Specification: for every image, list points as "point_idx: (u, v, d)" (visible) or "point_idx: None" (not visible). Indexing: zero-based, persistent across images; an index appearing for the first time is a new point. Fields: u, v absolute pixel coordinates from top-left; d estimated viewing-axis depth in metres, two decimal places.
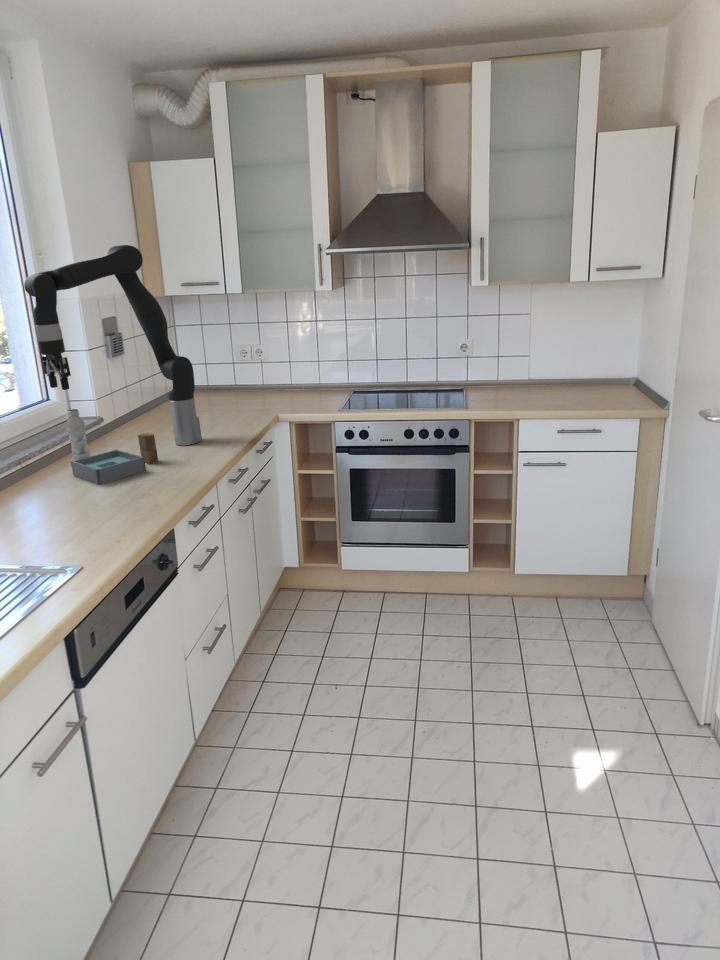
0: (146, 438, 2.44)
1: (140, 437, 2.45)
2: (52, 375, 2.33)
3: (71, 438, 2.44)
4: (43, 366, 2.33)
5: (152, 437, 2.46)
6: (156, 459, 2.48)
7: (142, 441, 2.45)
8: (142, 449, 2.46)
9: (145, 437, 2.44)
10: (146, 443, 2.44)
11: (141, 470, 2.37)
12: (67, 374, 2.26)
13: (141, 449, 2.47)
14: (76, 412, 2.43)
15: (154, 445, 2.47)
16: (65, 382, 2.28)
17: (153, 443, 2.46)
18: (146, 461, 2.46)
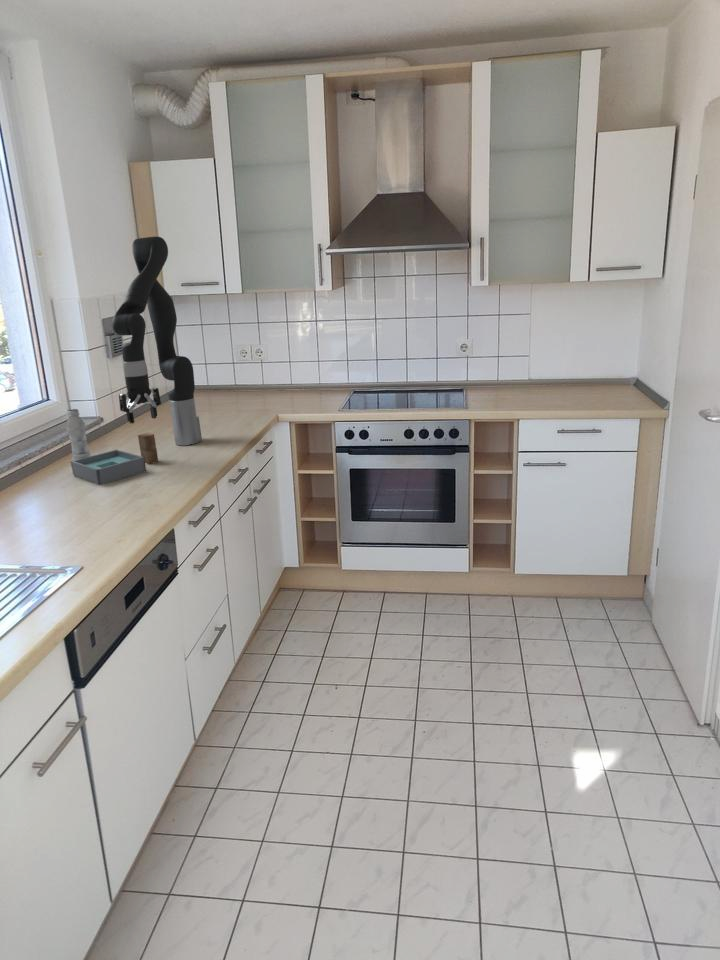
0: (146, 438, 2.44)
1: (140, 437, 2.45)
2: None
3: (71, 438, 2.44)
4: (124, 404, 2.37)
5: (152, 437, 2.46)
6: (156, 459, 2.48)
7: (142, 441, 2.45)
8: (142, 449, 2.46)
9: (145, 437, 2.44)
10: (146, 443, 2.44)
11: (141, 470, 2.37)
12: None
13: (141, 449, 2.47)
14: (76, 412, 2.43)
15: (154, 445, 2.47)
16: None
17: (153, 443, 2.46)
18: (146, 461, 2.46)
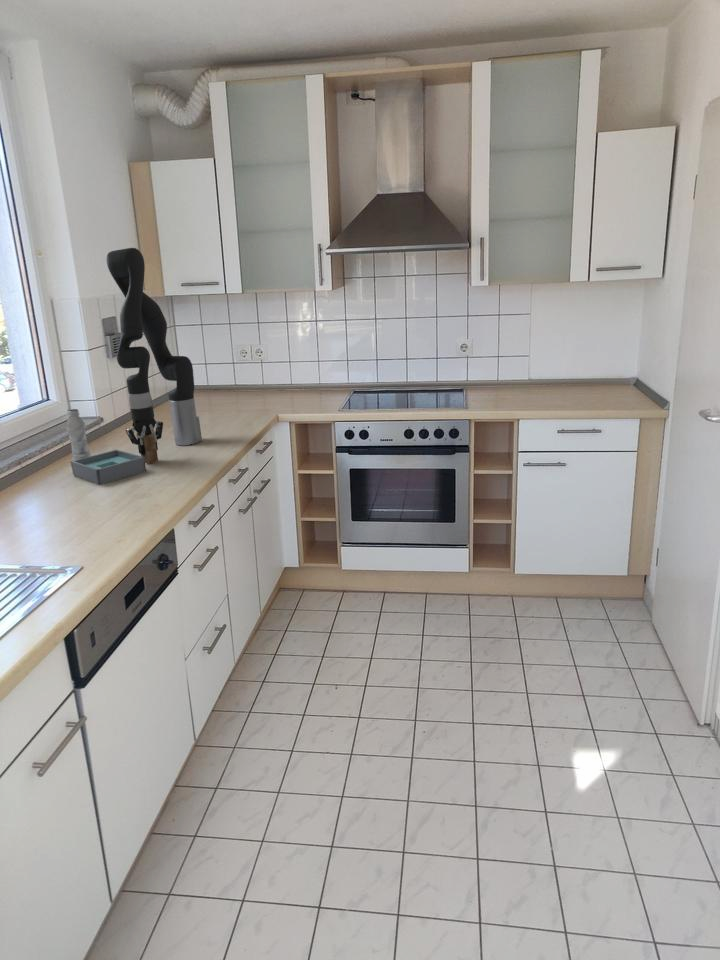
0: (146, 438, 2.44)
1: None
2: None
3: (71, 438, 2.44)
4: (134, 438, 2.41)
5: (152, 437, 2.46)
6: (156, 459, 2.48)
7: None
8: None
9: (145, 437, 2.44)
10: (147, 443, 2.44)
11: (141, 470, 2.37)
12: None
13: None
14: (76, 412, 2.43)
15: (154, 445, 2.47)
16: None
17: (153, 443, 2.46)
18: (146, 461, 2.47)
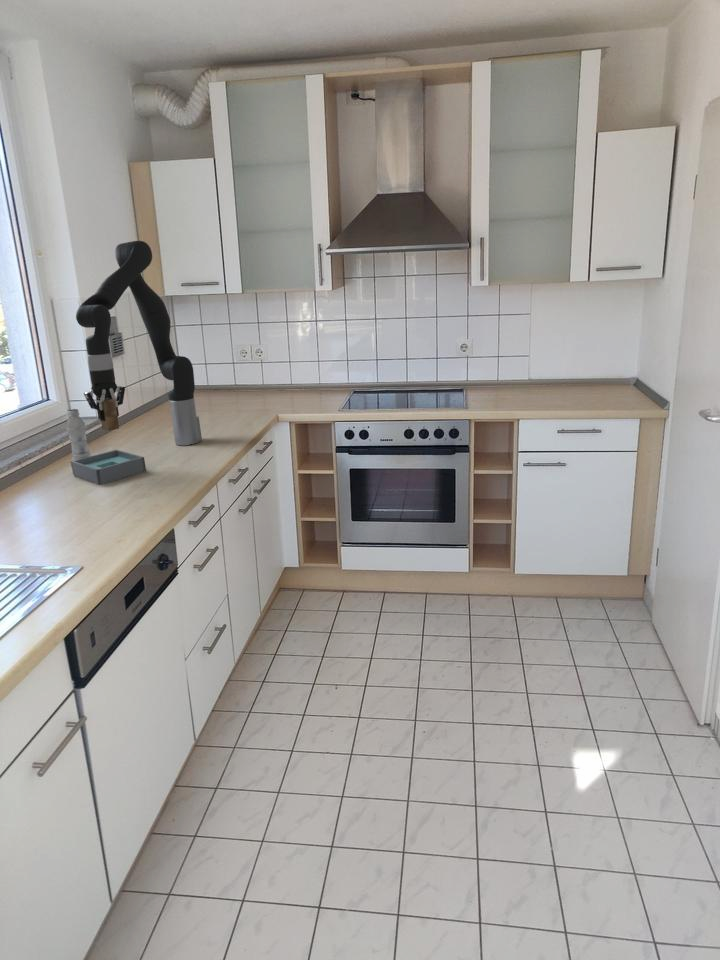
0: (106, 402, 2.31)
1: None
2: None
3: (71, 438, 2.44)
4: (92, 402, 2.28)
5: (113, 402, 2.32)
6: (117, 426, 2.35)
7: None
8: None
9: (105, 401, 2.30)
10: (106, 408, 2.31)
11: (141, 470, 2.37)
12: None
13: None
14: (76, 412, 2.43)
15: (115, 411, 2.34)
16: None
17: (114, 408, 2.33)
18: (106, 427, 2.33)
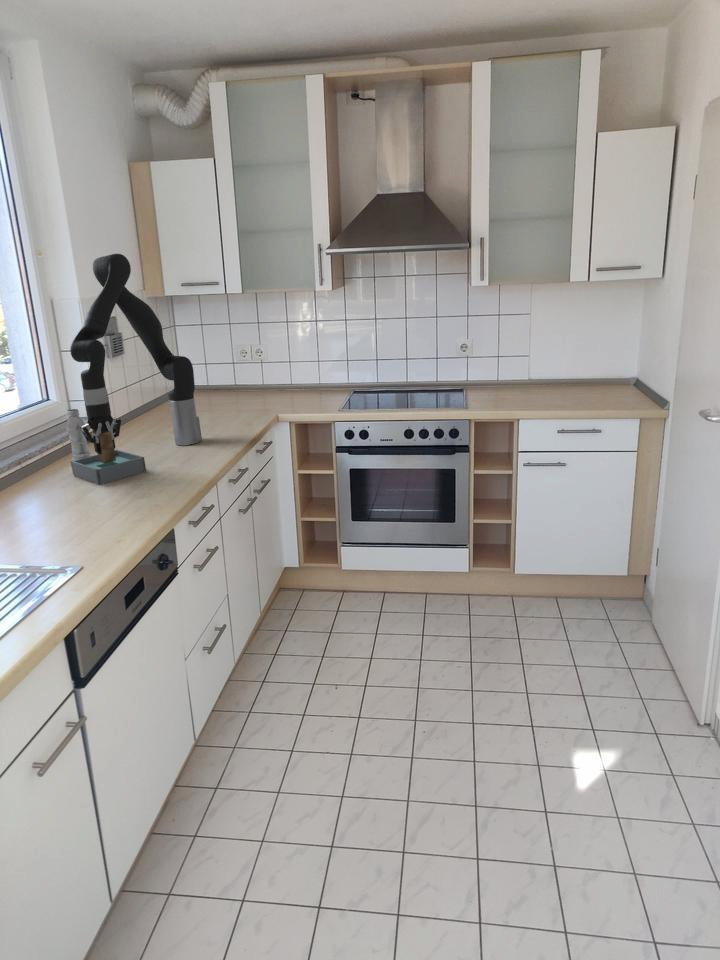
0: (103, 436, 2.32)
1: None
2: None
3: (71, 438, 2.44)
4: (89, 436, 2.29)
5: (109, 435, 2.34)
6: (113, 458, 2.36)
7: None
8: None
9: (101, 435, 2.32)
10: (103, 442, 2.32)
11: (141, 470, 2.37)
12: None
13: None
14: (76, 412, 2.43)
15: (111, 443, 2.35)
16: None
17: (110, 441, 2.34)
18: (103, 460, 2.35)
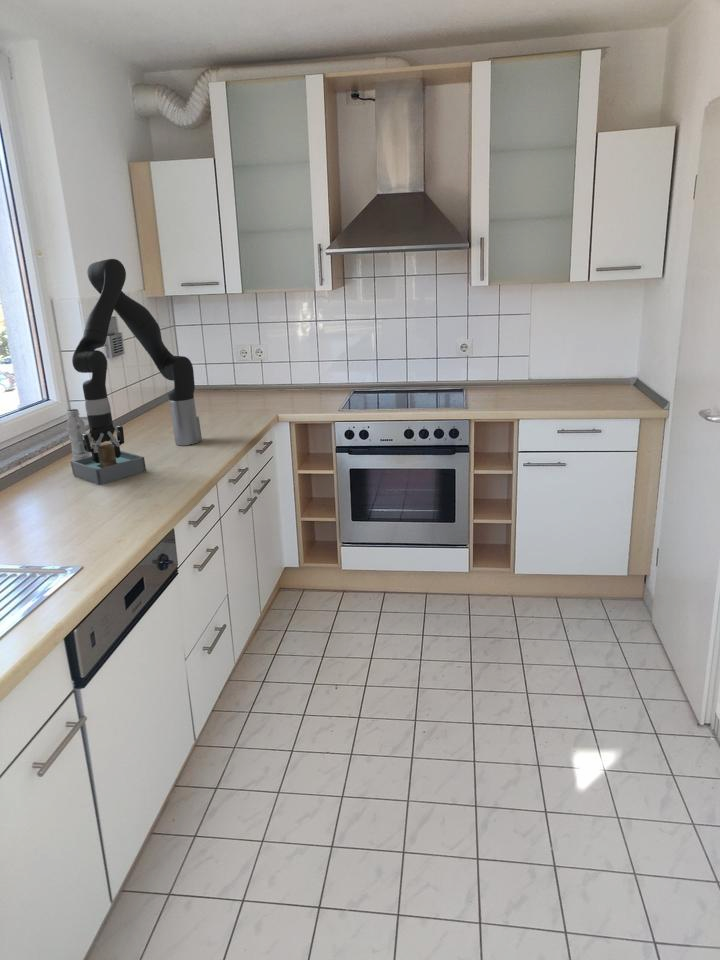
0: (105, 448, 2.33)
1: (98, 447, 2.34)
2: None
3: (71, 438, 2.44)
4: (88, 444, 2.30)
5: (111, 448, 2.35)
6: None
7: (100, 452, 2.34)
8: (101, 460, 2.35)
9: (103, 448, 2.33)
10: (105, 454, 2.34)
11: (141, 470, 2.37)
12: None
13: (100, 460, 2.36)
14: (76, 412, 2.43)
15: (113, 456, 2.36)
16: None
17: (112, 454, 2.36)
18: None
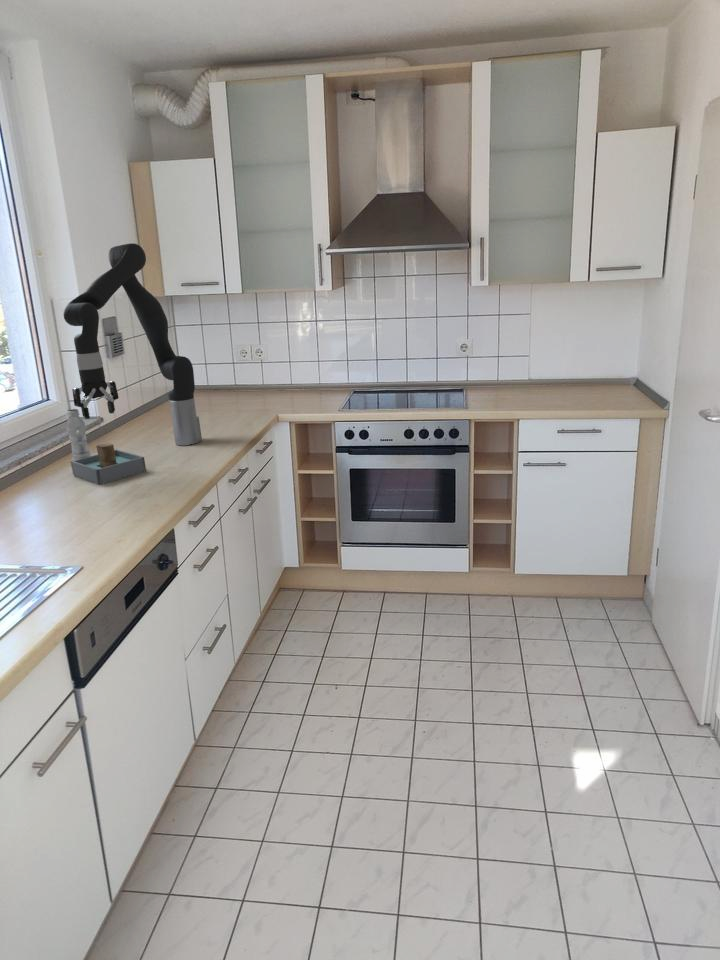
0: (105, 448, 2.33)
1: (98, 448, 2.34)
2: None
3: (71, 438, 2.44)
4: (78, 399, 2.25)
5: (111, 448, 2.35)
6: None
7: (100, 452, 2.34)
8: (101, 460, 2.35)
9: (103, 448, 2.33)
10: (105, 454, 2.34)
11: (141, 470, 2.37)
12: None
13: (100, 460, 2.36)
14: (76, 412, 2.43)
15: (113, 456, 2.36)
16: None
17: (112, 454, 2.36)
18: None
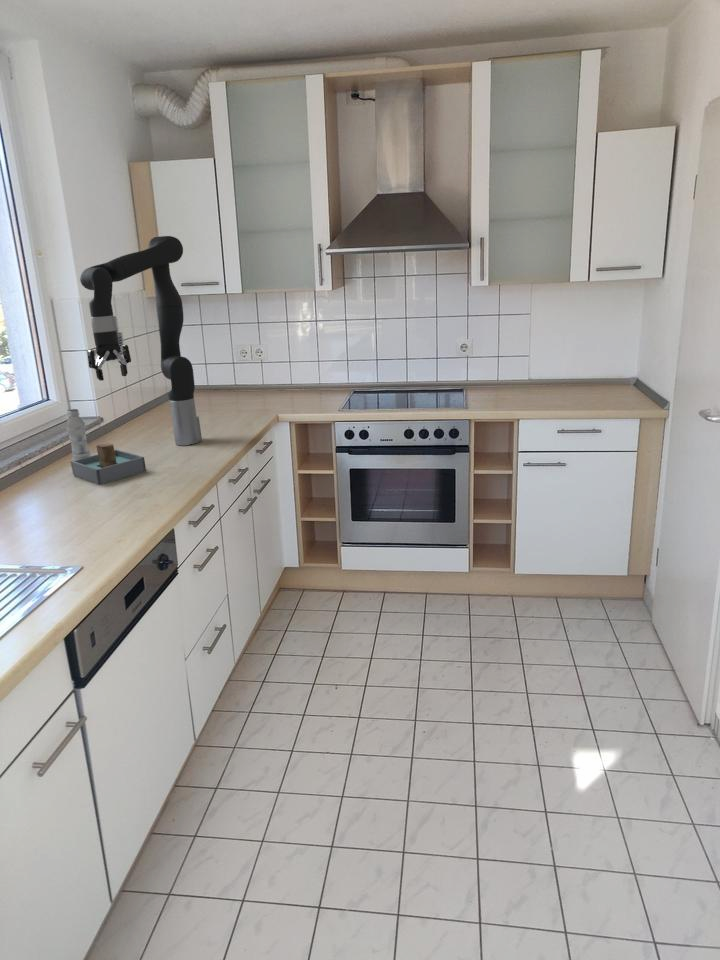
0: (105, 448, 2.33)
1: (98, 448, 2.34)
2: None
3: (71, 438, 2.44)
4: (93, 360, 2.33)
5: (111, 448, 2.35)
6: None
7: (100, 452, 2.34)
8: (101, 460, 2.35)
9: (103, 448, 2.33)
10: (105, 454, 2.34)
11: (141, 470, 2.37)
12: None
13: (100, 460, 2.36)
14: (76, 412, 2.43)
15: (113, 456, 2.36)
16: None
17: (112, 454, 2.36)
18: None
